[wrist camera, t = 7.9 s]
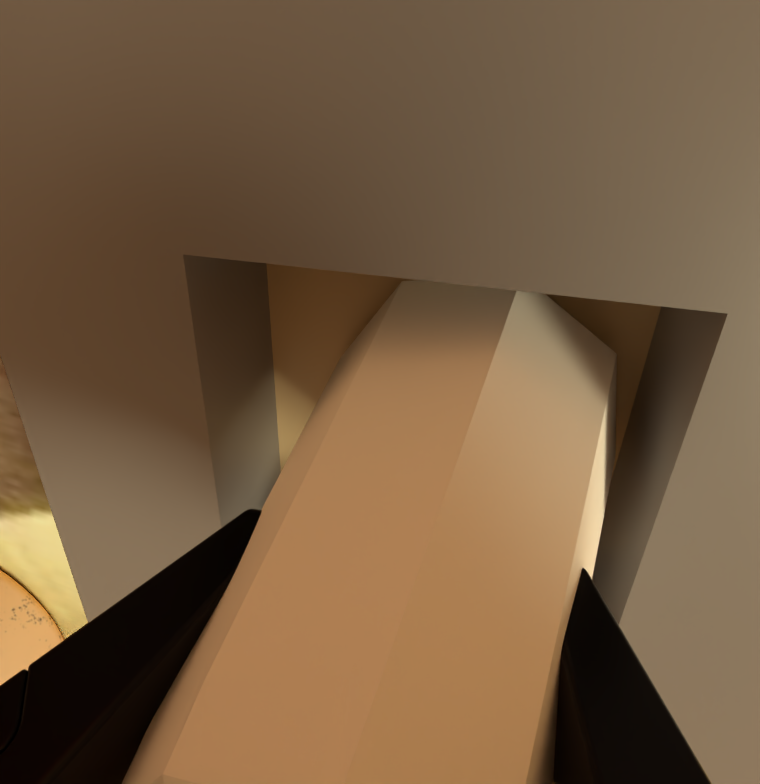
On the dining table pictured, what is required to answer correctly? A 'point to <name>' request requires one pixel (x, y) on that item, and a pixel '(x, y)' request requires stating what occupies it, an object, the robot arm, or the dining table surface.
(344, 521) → the pepper shaker
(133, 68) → the socket block
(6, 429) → the dining table surface
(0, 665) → the teacup with lid
